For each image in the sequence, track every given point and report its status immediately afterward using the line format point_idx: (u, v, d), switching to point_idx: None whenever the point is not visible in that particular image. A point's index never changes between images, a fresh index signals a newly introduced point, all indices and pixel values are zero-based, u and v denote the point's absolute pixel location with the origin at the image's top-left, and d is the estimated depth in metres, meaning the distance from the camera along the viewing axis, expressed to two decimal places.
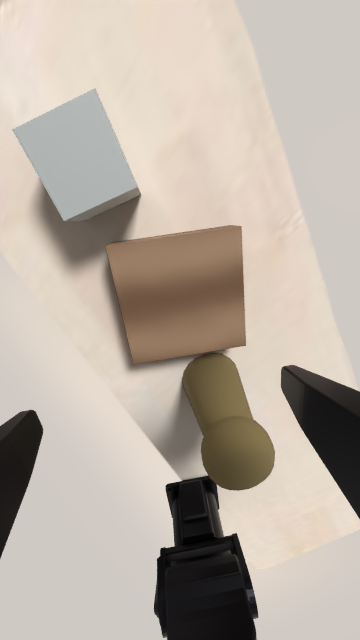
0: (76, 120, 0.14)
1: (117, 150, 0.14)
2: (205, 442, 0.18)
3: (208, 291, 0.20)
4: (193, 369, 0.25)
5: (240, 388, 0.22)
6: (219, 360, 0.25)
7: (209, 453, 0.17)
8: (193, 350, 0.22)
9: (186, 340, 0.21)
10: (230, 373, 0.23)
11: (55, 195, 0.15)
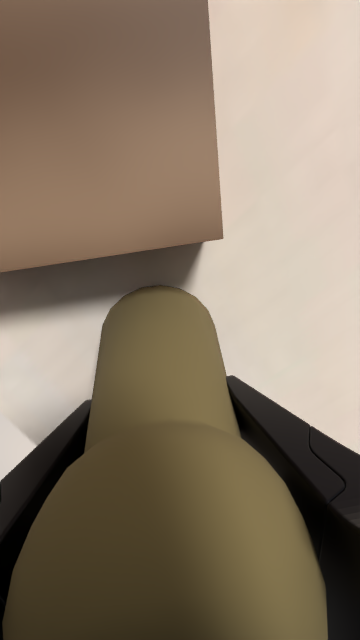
0: None
1: None
2: (28, 536, 0.04)
3: (101, 35, 0.06)
4: (112, 316, 0.11)
5: (210, 349, 0.09)
6: (170, 295, 0.11)
7: (5, 612, 0.03)
8: (86, 248, 0.08)
9: (59, 215, 0.08)
10: (191, 317, 0.10)
11: None
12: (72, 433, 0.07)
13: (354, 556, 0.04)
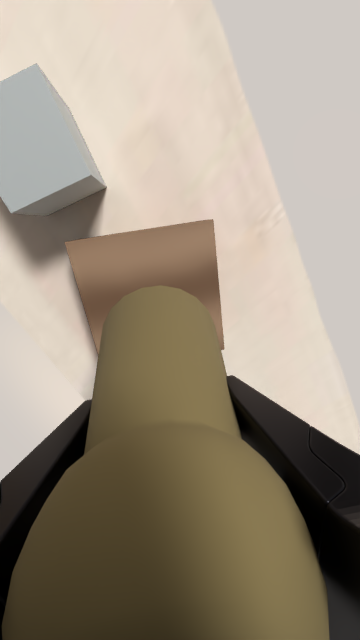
0: (17, 99, 0.12)
1: (66, 133, 0.13)
2: (27, 538, 0.04)
3: None
4: (112, 316, 0.11)
5: (210, 349, 0.09)
6: (170, 296, 0.11)
7: (5, 614, 0.03)
8: None
9: None
10: (191, 317, 0.10)
11: None
12: (72, 433, 0.07)
13: (354, 556, 0.04)
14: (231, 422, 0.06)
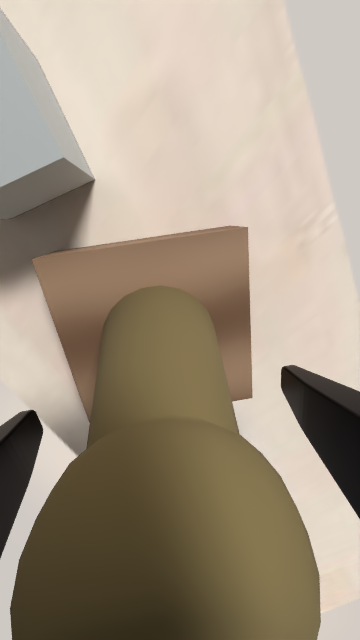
0: None
1: (18, 86, 0.08)
2: (33, 527, 0.04)
3: None
4: (113, 316, 0.11)
5: (209, 348, 0.09)
6: (170, 296, 0.11)
7: (14, 597, 0.04)
8: None
9: None
10: (190, 317, 0.10)
11: None
12: None
13: None
14: (229, 418, 0.06)
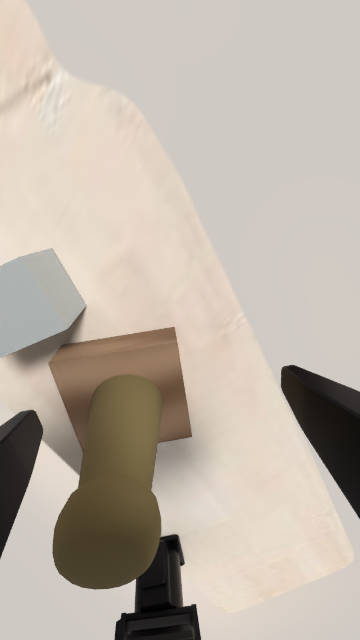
0: (4, 281, 0.15)
1: (45, 302, 0.15)
2: (58, 518, 0.12)
3: None
4: (96, 396, 0.19)
5: (145, 425, 0.17)
6: (130, 384, 0.19)
7: (54, 539, 0.11)
8: None
9: None
10: (139, 402, 0.18)
11: None
12: None
13: None
14: (143, 470, 0.14)
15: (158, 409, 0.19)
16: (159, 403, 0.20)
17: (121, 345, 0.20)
